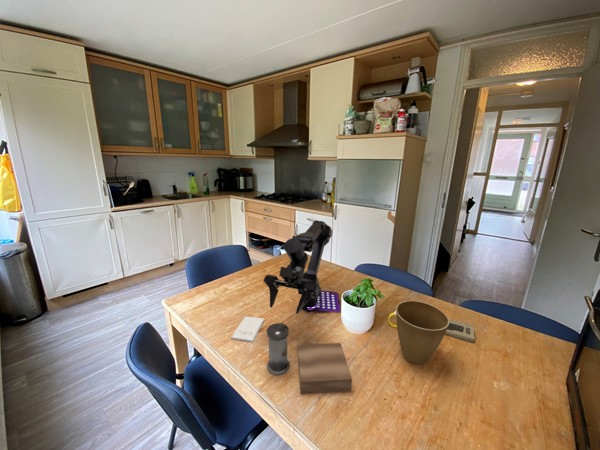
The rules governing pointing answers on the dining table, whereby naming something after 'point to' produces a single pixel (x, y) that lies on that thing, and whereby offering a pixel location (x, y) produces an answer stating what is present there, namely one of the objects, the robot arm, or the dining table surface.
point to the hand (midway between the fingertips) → (283, 310)
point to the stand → (323, 368)
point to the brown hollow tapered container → (420, 330)
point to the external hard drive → (248, 329)
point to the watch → (389, 319)
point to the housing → (278, 349)
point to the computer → (460, 330)
